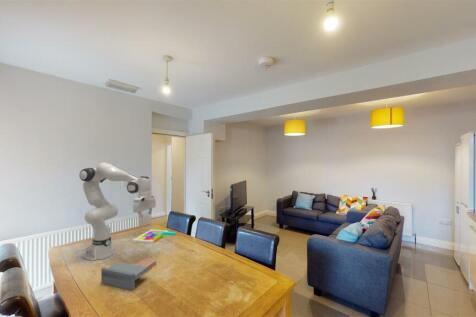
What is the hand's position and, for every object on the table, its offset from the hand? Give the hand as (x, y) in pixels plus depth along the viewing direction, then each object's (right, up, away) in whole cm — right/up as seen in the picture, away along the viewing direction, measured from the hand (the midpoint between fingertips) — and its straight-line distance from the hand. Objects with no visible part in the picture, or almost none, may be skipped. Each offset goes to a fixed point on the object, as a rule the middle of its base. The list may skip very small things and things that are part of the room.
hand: (145, 215), depth 162 cm
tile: (+4, -35, -11) cm, 37 cm away
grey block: (-1, -34, -26) cm, 43 cm away
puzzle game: (-10, -35, +47) cm, 60 cm away
